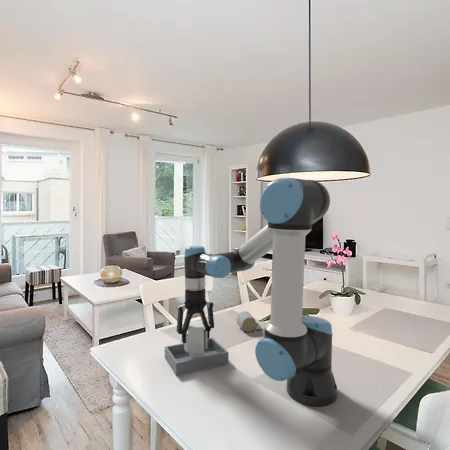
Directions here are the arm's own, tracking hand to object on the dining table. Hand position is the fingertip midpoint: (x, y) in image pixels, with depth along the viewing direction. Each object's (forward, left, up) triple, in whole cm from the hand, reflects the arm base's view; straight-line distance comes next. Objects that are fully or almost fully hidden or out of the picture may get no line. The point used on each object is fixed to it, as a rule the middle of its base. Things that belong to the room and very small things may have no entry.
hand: (196, 348), depth 121 cm
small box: (0, 0, -1) cm, 1 cm away
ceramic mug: (+19, -33, -5) cm, 39 cm away
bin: (0, 0, -5) cm, 5 cm away
